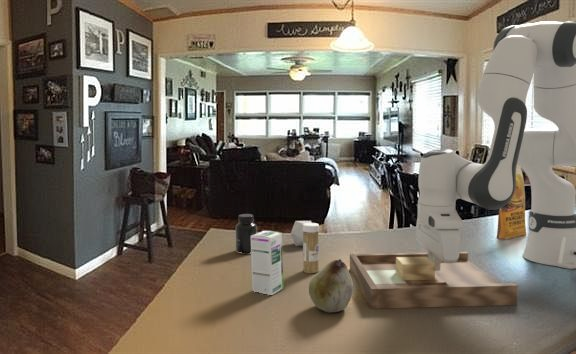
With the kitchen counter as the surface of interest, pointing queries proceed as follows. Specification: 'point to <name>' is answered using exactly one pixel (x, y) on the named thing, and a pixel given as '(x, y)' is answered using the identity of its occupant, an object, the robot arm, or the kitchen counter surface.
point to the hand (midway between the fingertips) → (434, 269)
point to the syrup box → (267, 262)
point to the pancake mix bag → (513, 212)
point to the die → (298, 232)
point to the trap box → (428, 284)
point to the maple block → (415, 268)
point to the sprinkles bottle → (310, 248)
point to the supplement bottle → (245, 233)
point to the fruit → (331, 287)
